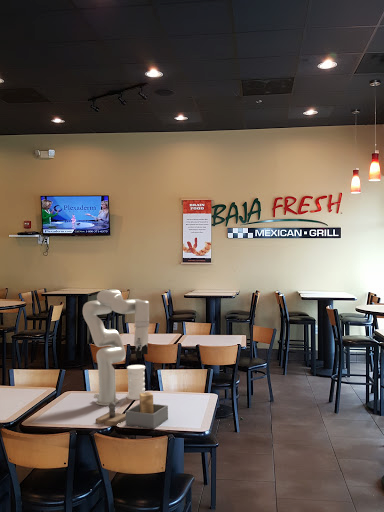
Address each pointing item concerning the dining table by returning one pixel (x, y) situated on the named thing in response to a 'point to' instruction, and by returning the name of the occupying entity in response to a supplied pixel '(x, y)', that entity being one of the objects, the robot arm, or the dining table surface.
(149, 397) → the oak strut
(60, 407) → the dining table surface
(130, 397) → the decorative container
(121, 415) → the stud block
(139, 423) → the charcoal bin
